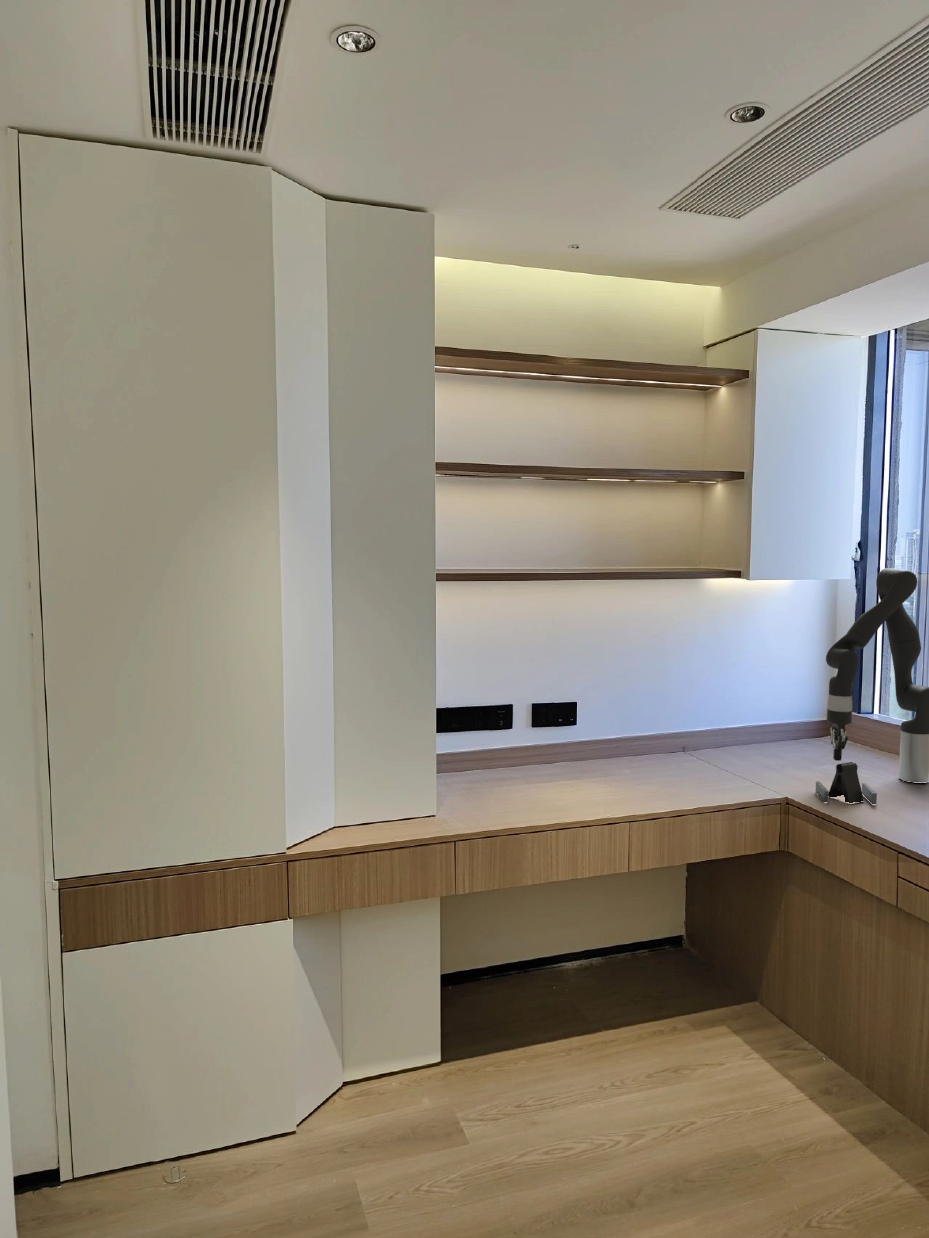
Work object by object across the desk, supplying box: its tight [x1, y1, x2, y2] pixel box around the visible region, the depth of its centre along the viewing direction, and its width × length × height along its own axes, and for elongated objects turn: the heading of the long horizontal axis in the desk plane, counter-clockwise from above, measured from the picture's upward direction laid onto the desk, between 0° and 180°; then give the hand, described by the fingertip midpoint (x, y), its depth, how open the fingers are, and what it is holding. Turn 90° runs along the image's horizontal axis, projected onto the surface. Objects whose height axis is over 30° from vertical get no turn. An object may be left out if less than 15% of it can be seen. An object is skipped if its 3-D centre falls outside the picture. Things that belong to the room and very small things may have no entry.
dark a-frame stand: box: [828, 761, 865, 803], centre depth 262 cm, size 9×6×12 cm, turn 22°
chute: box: [815, 780, 878, 805], centre depth 263 cm, size 11×15×4 cm
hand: (837, 759), depth 272 cm, fingers closed
